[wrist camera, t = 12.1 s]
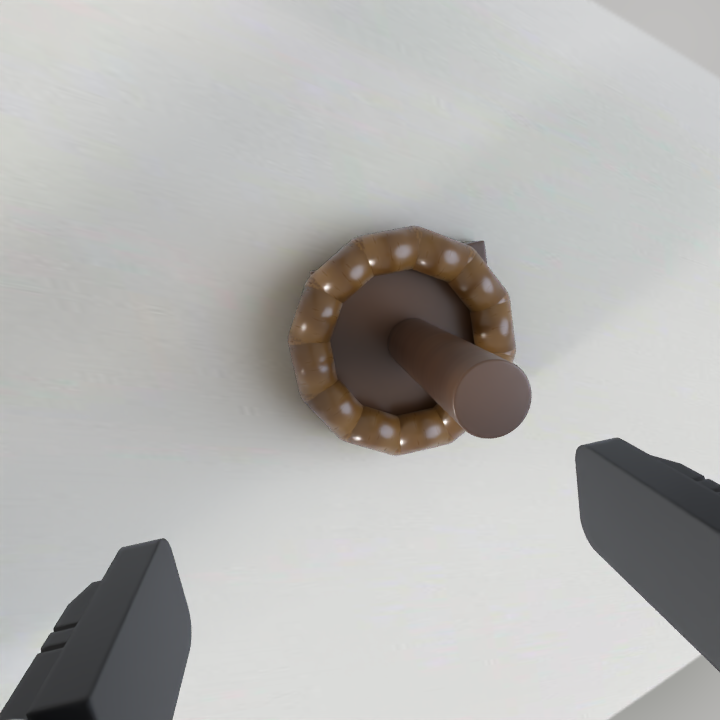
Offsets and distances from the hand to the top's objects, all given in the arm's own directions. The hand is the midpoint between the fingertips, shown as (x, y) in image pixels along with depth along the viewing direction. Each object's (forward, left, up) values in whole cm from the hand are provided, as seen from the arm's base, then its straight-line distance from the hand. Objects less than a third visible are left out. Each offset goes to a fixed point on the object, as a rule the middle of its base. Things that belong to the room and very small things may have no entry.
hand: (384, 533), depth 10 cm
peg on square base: (0, +5, -18) cm, 19 cm away
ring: (0, +4, -16) cm, 16 cm away
